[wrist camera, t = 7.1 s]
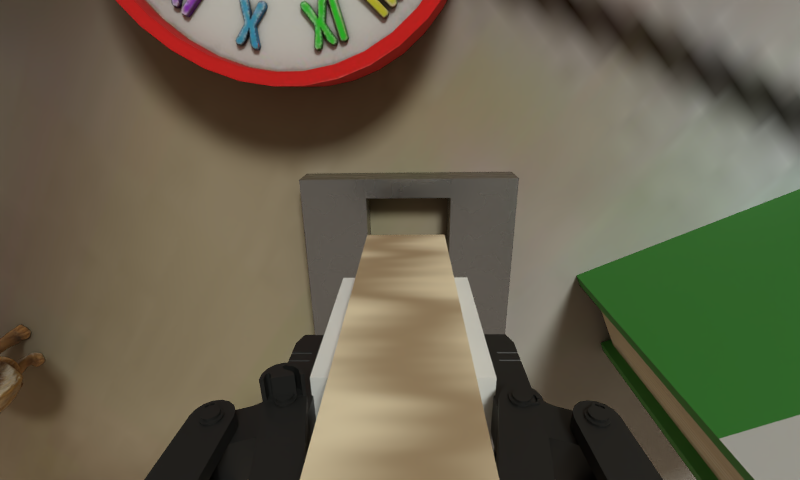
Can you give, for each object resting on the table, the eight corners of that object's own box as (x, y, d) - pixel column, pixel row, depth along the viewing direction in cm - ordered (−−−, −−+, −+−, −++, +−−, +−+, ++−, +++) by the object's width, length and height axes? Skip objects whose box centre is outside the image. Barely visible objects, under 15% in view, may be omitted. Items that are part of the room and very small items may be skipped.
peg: (370, 302, 23) (316, 604, 10) (367, 234, 21) (298, 483, 8) (442, 302, 22) (487, 607, 9) (444, 234, 21) (500, 485, 8)
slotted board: (331, 431, 36) (326, 452, 34) (306, 173, 28) (298, 180, 26) (490, 432, 36) (495, 454, 34) (511, 171, 28) (519, 179, 26)
